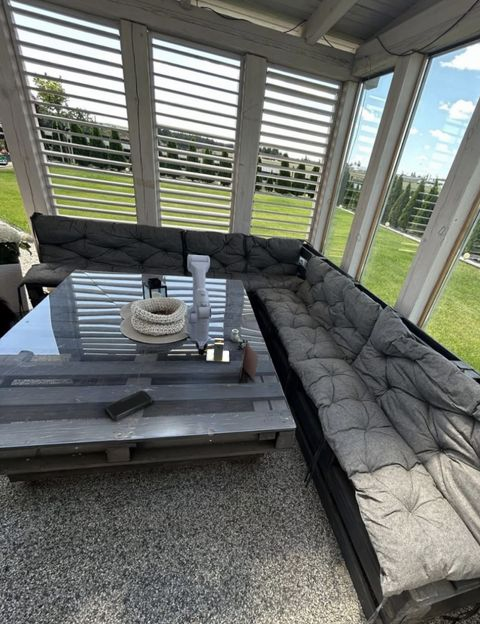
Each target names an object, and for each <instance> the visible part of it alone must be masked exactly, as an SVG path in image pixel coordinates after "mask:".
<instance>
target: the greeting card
mask: <svg viewBox="0 0 480 624" xmlns="http://www.w3.org/2000/svg"><path fill="white" fill-rule="evenodd" d="M247 343H248V342H247ZM247 343H245V348H244V346H242V347H243V350H242V358H241V359H242V360H241V362H242V363H241V367H240V371H239V378H241V377H242V371H243V369H244V371H245V372H246V373H247V375H249V377H250V378H251V380H252V381H255V378H256V372H257V368H258V363H259V357H260V356H259V354H258V353H256V351H255V350H254V349H253V348H252V347H251V346H250V344H249V343H248V344H249V345H248V344H247Z"/></svg>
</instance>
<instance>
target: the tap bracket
mask: <svg viewBox="0 0 480 624" xmlns="http://www.w3.org/2000/svg"><path fill="white" fill-rule="evenodd" d="M220 340H221V342H222V343H215V342H217V341H220ZM224 342H225V339H224V338H218V337H216V338H214V344H213V345H214V348H213V349H208V350H206V362H214V363H215V362H217V363H230V351H229V350H224V346H225V343H224Z"/></svg>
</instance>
